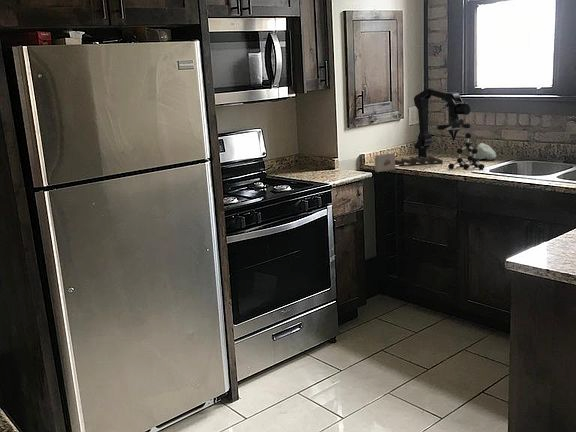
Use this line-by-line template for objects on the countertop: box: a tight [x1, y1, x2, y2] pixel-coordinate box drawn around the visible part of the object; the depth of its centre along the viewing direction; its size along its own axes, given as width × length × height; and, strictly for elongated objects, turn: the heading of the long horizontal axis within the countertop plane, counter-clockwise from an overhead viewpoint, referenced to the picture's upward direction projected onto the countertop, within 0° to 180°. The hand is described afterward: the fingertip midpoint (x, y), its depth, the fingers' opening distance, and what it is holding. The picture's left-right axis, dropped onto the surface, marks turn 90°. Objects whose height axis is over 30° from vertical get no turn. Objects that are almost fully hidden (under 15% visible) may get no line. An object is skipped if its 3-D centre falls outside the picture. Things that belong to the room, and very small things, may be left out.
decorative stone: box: [476, 142, 497, 161], centre depth 377 cm, size 13×11×10 cm
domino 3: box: [409, 156, 426, 165], centre depth 375 cm, size 2×5×8 cm
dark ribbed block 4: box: [400, 157, 417, 166], centre depth 375 cm, size 2×5×8 cm
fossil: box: [374, 152, 396, 173], centre depth 362 cm, size 12×4×10 cm, turn 116°
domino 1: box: [395, 159, 405, 166], centre depth 375 cm, size 2×5×8 cm
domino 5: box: [427, 154, 444, 164], centre depth 375 cm, size 2×5×8 cm
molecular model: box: [447, 132, 485, 170], centre depth 355 cm, size 18×20×20 cm
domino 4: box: [418, 156, 436, 165], centre depth 375 cm, size 2×5×8 cm
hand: (453, 140), depth 374 cm, fingers closed
